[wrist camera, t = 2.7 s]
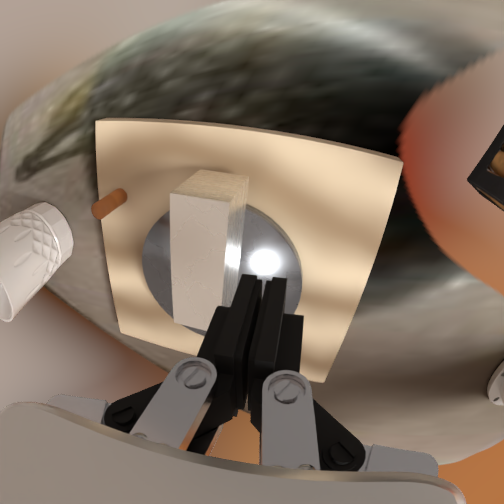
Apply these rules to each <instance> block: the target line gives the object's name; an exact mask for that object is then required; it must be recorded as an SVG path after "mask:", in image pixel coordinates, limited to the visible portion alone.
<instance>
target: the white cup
mask: <svg viewBox="0 0 504 504" xmlns="http://www.w3.org/2000/svg"><path fill="white" fill-rule="evenodd" d="M73 245H74V243H73V237H72V232H71V229H70V227H69V225H68V223H67V221H66V219H65V217H64V216H63V215H62V214H61V213H60V211H59V210H58V209H57V208H56V207H55V206H53V205H50V204H48V203H46V202H42V203H36V204H34V205H33V206H31V207H29V208H27V209H25V210H24V211H21V212H18V213H16V214H14V215H12V216H11V217H9V218H7V219H5V220H3V221H1V222H0V320H2V321H5V322H10V321H12V320H13V319H14V317H15V316H16V315H17V314H18V313H19V312H20V310H21V309H22V308H23V307H24V306H25V305H26V304H27V303H28V301H29V300H30V299H31V298H32V297H33V296H34V295H35V294H36V293H37V292H38V291H39V290H40V289H41V288H42V286H43V285H44V284H45V283H46V282H47V281H48V280H49V279H50V277H51V276H52V275H53V274H54V273H55V271H56V270H57V269H58V268H59V267H60V265H61V264H63V263H64V262H65V261H66V260H67V259H68V258H69V257H70V256H71V254H72V249H73Z"/></svg>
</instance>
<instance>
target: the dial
mask: <svg viewBox="0 0 504 504" xmlns="http://www.w3.org/2000/svg"><path fill="white" fill-rule="evenodd" d="M248 183H249V176H243V175H237V174H230V173H224V172H217V171H210V170H203V169H200V170H199V171H198V172H196V173H195V174H194V175H192V176H191V177H190V178H189V179H187V180H186V181H185V182H183V183H182V184H181V185H179V186H178V187H177V188H176V189H174V190H173V191H172V192H171V193H170V210H169V211H167V212H166V213H165V214H164V215H163V216H162V217H161V218H160V219H159V220H158V221H157V222H156V223H155V224H154V225H153V227H152V228H151V229H150V231H149V233H148V235H147V237H146V239H145V242H144V246H143V251H142V267H143V273H144V276H145V280H146V283H147V285H148V287H149V290H150V291H151V293H152V295H153V297H154V298H155V300H156V301H157V302H158V304H159V305H160V306H161V307H162V308H163V310H164V311H165V312H166V313H167V314H168V315H170V316H171V317H172V318H173V319H174V323H178V324H181V325H182V326H184V327H186V328H187V329H189V330H191V331H193V332H195V333H197V334H200V335H202V336H205V334H206V332H207V329H208V327H209V324H210V322H211V319H212V317H213V314H214V312H215V309H216V307H217V306H225V307H230V306H231V304H232V301H233V298H234V295H235V292H236V289H237V287H238V284H239V281H240V278H241V275H242V274H250V275H257V279H261V280H262V297H263V293H264V289H265V284H266V281H267V280H270V281H272V278H273V277H280V278H287V289H286V301H285V312H284V313H286V314H294V313H295V311H296V309H297V307H298V304H299V301H300V297H301V292H302V283H303V272H302V265H301V261H300V258H299V255H298V252H297V250H296V248H295V246H294V244H293V242H292V241H291V239H290V238H289V236H288V235H287V233H286V232H285V231H284V230H283V229H282V228H281V227H280V225H278V224H277V223H276V222H275V221H274V220H273V219H272V218H271V217H269V216H268V215H266V214H265V213H263V212H262V211H260V210H258V209H256V208H254V207H253V206H251V205H248V204H246V201H247V192H248Z"/></svg>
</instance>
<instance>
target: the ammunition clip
mask: <svg viewBox="0 0 504 504" xmlns="http://www.w3.org/2000/svg"><path fill="white" fill-rule="evenodd" d="M467 181H468V182H469V183H470V184H471V185H472V186H473V187H474V188H475V189H476V190H477V191H478V192H479V193H480V194H481V195H482V196H483V197H485V198H486V199H487V200H489V201H490V202H492V203H493V204H494V205H496V206H497V207H498V208H500V209H502V210H503V211H504V125H503V127H502V128H501V130H500V131H499V133H498V134H497V136H496V138H495V139H494V141H493V142H492V144H491V145H490V147H489V148H488V150H487V151H486V153H485V154H484V155H483V157H482V158H481V160H480V161H479V163H478V164H477V166H476V167H475V168H474V170H473V171H472V173H471V174H470V176H469V177H468V178H467Z"/></svg>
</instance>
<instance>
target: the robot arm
mask: <svg viewBox="0 0 504 504" xmlns="http://www.w3.org/2000/svg"><path fill="white" fill-rule="evenodd" d="M286 289H287V278H280V277H273V278H272V281H270V280H267V281H266V284H265V289H264V293H263V297H262V280H261V279H257V275H250V274H242V275H241V278H240V281H239V284H238V287H237V289H236V292H235V295H234V298H233V301H232V304H231V306H230V307H225V306H217V307H216V309H215V312H214V314H213V317H212V319H211V322H210V324H209V327H208V329H207V332H206V334H205V337H204V339H203V342H202V344H201V347H200V349H199V352H198V354H197V357H190V358H186V359H183V360H181V361H180V362H178V363H177V364H176V365H175V366H174V367H173V368H172V370H171V371H170V373H169V374H168V376H167V377H166V379H165V380H164V382H161V383H160V384H157V385H154V386H152V387H149V388H147V389H145V390H142V391H140V392H138V393H135V394H132V395H130V396H127V397H125V398H122V399H120V400H117V401H115V402H114V403H108V402H107V401H106V400H99V399H90V398H83V397H76V396H70V395H63V394H62V395H56V396H53V397H52V398H51V399H49V400H48V402H47V404H43V403H37V402H36V403H35V402H17V403H13V404H10V405H8V406H6V407H5V408H4V409H3V410H2V411H0V504H467V503H466V500H465V498H464V495H463V494H462V492H461V491H460V489H459V488H458V487H457V486H456V485H454V484H452V483H451V482H448V481H446V480H444V479H441V478H438V464H437V462H436V460H435V458H434V457H432V456H431V455H430V454H427V453H423V452H416V451H409V450H403V449H397V448H391V447H385V446H380V445H375V444H373V445H372V446H368V445H363V444H362V443H361V442H360V441H359V440H358V439H357V438H356V437H355V436H354V435H352V434H351V433H350V432H349V431H348V430H347V429H346V428H345V427H343V426H342V425H341V424H340V423H339V422H338V421H337V420H336V419H335V418H333V417H332V416H331V415H330V414H329V413H328V412H327V411H326V410H325V409H324V408H323V407H321V406H320V405H319V404H318V403H317V402H316V401H315V400H314V399H313V398H312V390H311V386H310V382H309V381H308V380H307V378H306V377H305V376H303V375H302V374H300V362H301V350H302V338H303V324H304V315H296V314H286V313H284V312H285V301H286ZM487 393H488V396H489V400H490V401H491V402H492V403H494V404H496V405H504V361H503V362H502V363H501V364H500V365H499V367H498V368H497V369H496V371H495V372H494V374H493V375H492V377H491V379H490V381H489V383H488V387H487ZM247 394H248V410H249V411H251V423H252V424H253V425H254V427H255V428H256V429H257V430H258V431H259V432H260V445H259V465H257V464H250V463H244V462H238V461H232V460H226V459H221V458H216V457H211V456H209V455H210V453H211V451H212V449H213V447H214V445H215V443H216V441H217V439H218V437H219V435H220V433H221V430H222V428H223V424H224V423H225V422H228V421H229V420H231V419H232V417H233V416H235V417H236V416H237V413H238V409H242V410H244V407H245V403H246V399H247Z"/></svg>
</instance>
